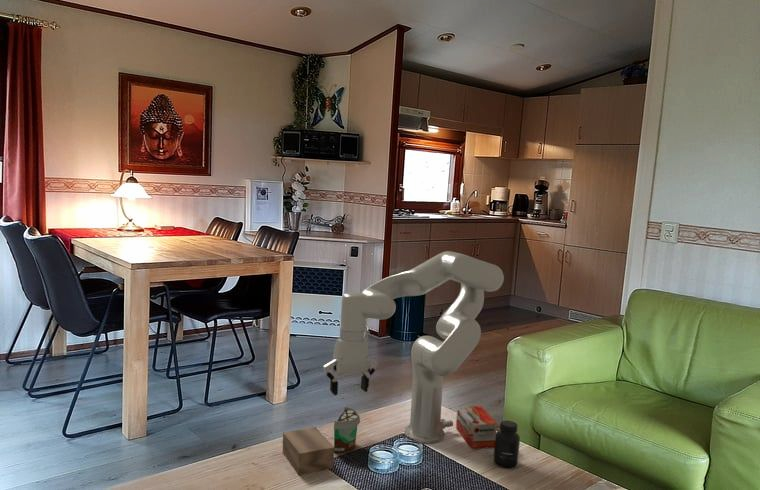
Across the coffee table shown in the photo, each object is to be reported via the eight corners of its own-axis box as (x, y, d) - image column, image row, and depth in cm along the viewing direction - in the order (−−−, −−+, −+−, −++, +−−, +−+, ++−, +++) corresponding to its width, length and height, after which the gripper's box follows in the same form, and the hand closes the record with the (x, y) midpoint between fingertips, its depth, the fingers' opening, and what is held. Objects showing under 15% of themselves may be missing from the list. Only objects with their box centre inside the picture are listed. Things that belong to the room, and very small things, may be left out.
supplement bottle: (504, 471, 160) (507, 430, 158) (488, 460, 166) (491, 420, 164) (522, 466, 163) (526, 426, 162) (507, 456, 169) (510, 417, 168)
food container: (353, 458, 163) (354, 424, 162) (332, 455, 164) (333, 421, 163) (363, 440, 175) (364, 408, 174) (343, 437, 176) (345, 406, 175)
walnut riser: (315, 446, 169) (315, 427, 168) (333, 468, 157) (334, 447, 156) (282, 452, 164) (283, 432, 164) (298, 475, 152) (299, 453, 151)
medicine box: (455, 429, 187) (456, 405, 186) (478, 428, 188) (480, 404, 188) (471, 450, 172) (472, 424, 171) (496, 449, 174) (498, 423, 173)
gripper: (373, 330, 173) (369, 384, 175) (320, 333, 165) (317, 390, 167) (384, 336, 167) (381, 393, 168) (330, 340, 159) (326, 399, 160)
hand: (349, 391), depth 168 cm, fingers open, 9 cm apart
